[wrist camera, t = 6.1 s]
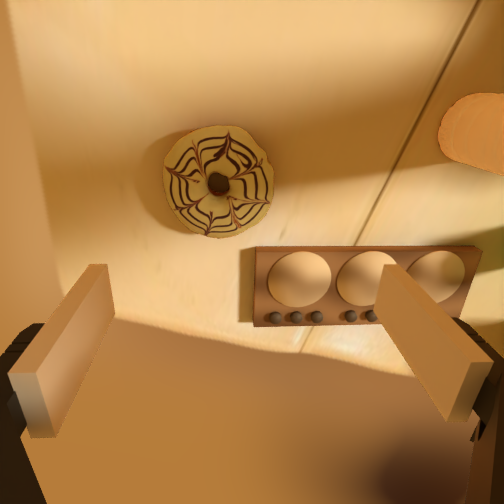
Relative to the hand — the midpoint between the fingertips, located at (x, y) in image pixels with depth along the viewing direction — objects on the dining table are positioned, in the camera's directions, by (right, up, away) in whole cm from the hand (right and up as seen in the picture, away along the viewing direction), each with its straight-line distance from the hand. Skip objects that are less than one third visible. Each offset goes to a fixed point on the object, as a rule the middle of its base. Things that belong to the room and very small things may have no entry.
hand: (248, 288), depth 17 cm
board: (+13, -2, +25) cm, 29 cm away
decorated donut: (-3, +9, +19) cm, 21 cm away
